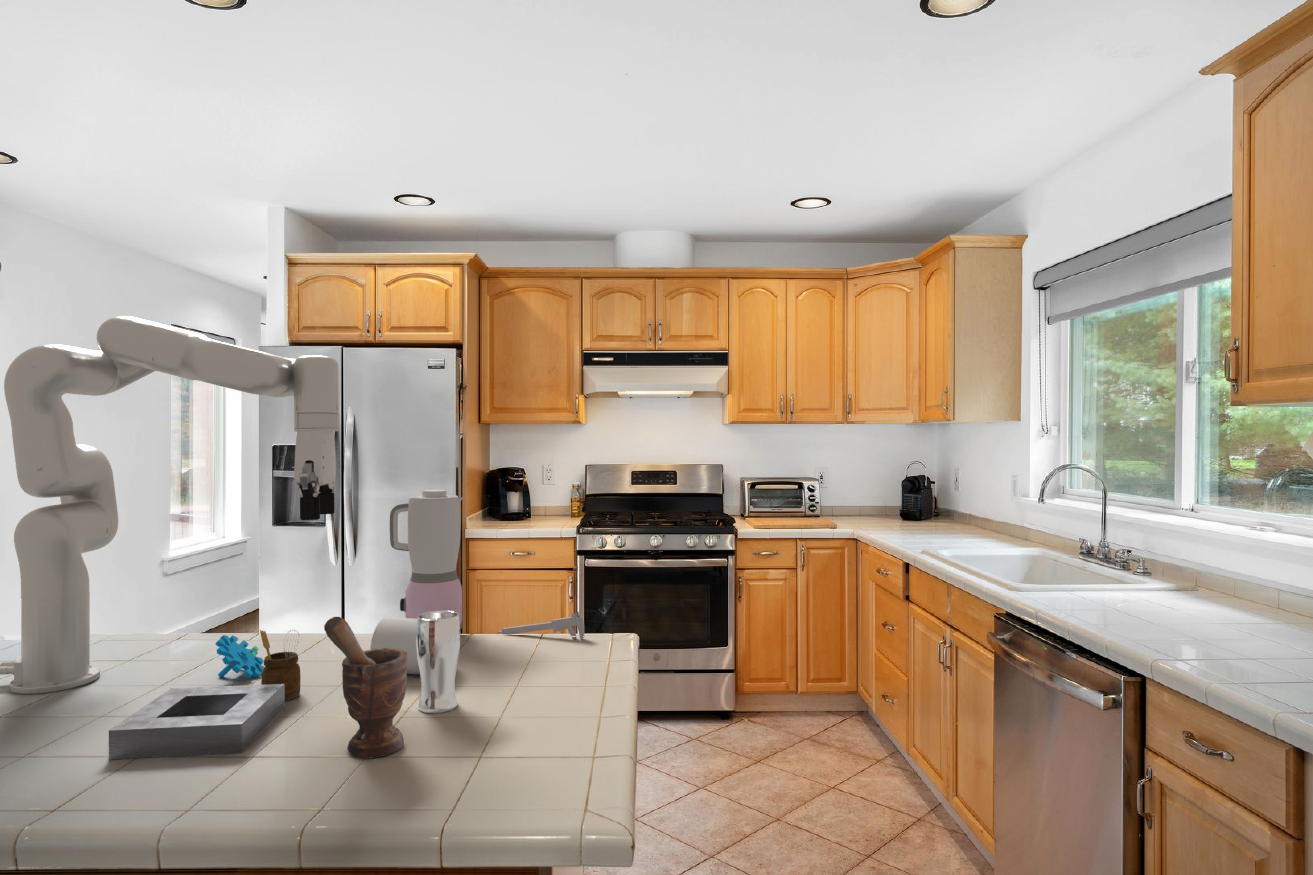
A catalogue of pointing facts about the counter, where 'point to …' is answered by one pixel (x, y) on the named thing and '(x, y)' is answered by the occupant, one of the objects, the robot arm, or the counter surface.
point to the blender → (431, 552)
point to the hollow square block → (197, 721)
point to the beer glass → (437, 659)
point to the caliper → (551, 626)
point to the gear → (239, 657)
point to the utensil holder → (281, 669)
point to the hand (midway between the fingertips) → (318, 516)
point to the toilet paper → (398, 639)
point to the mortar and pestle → (370, 691)
